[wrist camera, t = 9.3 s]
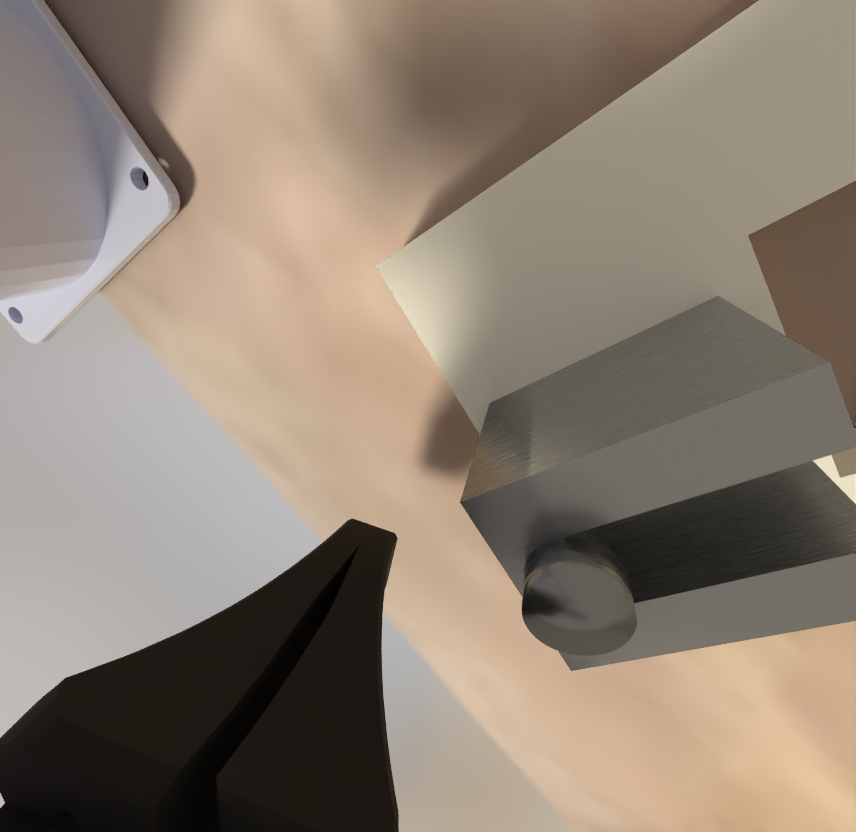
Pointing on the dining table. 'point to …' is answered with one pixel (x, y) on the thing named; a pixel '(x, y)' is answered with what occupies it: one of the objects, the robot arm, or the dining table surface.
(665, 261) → the frame
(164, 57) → the dining table surface
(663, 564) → the clip
